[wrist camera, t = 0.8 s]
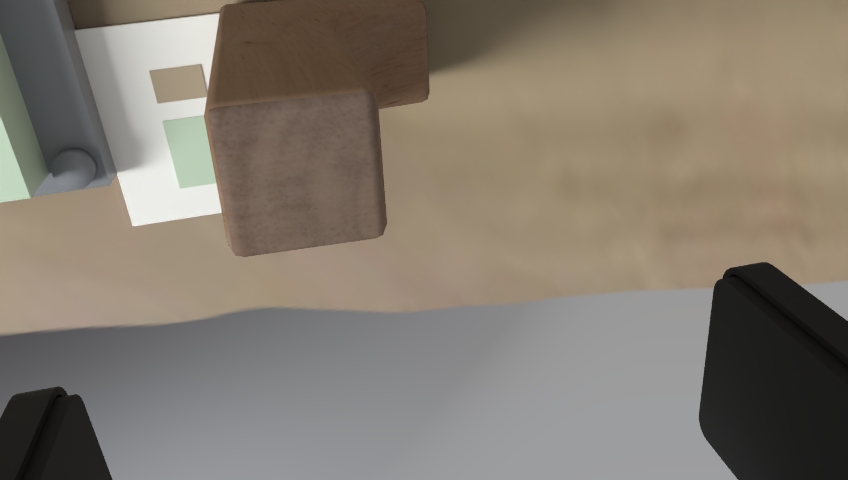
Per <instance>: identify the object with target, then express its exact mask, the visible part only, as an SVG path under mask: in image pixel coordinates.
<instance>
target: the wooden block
mask: <svg viewBox="0 0 848 480" xmlns="http://www.w3.org/2000/svg"><path fill="white" fill-rule="evenodd" d="M428 95H429V69H428V44H427V20H426V8H425V6H424V4H423V3H422V2H420V1H418V0H278V1H266V2H253V3H241V4H228V5H225V6H223V7H221V9H220V13H219V20H218V28H217V34H216V40H215V47H214V53H213V59H212V66H211V73H210V79H209V86H208V93H207V99H206V106H205V113H204V120H205V125H206V130H207V136H208V141H209V146H210V152H211V157H212V162H213V168H214V173H215V178H216V184H217V189H218V194H219V200H220V205H221V210H222V216H223V221H224V227H225V232H226V237H227V243H228V246H229V247H230V249H231V250H232V252H233V253H234V254H235V255H236V256H242V257H247V256H254V255H261V254H268V253H275V252H282V251H289V250H296V249H303V248H310V247H318V246H325V245H332V244H339V243H346V242H353V241H360V240H367V239H374V238H377V237H379V236H381V235H383V233H384V230H385V227H386V225H387V217H386V204H385V191H384V178H383V164H382V151H381V138H380V125H379V111H378V109H382V108H388V107H395V106H401V105H407V104H413V103H419V102H423V101H425V100H427V99H428Z"/></svg>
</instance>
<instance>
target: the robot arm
mask: <svg viewBox="0 0 848 480" xmlns="http://www.w3.org/2000/svg"><path fill="white" fill-rule="evenodd" d="M699 422H700V427H701V430H702V432H703V434H704V437H705V438H706V440H707V441H708V442H709V444H710V445H711V446H712V447H713V449H714V450H715V451H716V452H717V454H718V455H719V456H720V457H721V459H722V460H723V461H724V462H725V464H726V465H727V466H728V468H729V469H730V470H731V471H732V473H733V474H734V475H735V476H736V477H737V479H738V480H848V321H846V320H845V319H844V318H843V317H841V316H840V315H838V314H837V313H836V312H835V311H833V310H832V309H831V308H829V307H828V306H827V305H825V304H824V303H823V302H821V301H820V300H818V299H817V298H816V297H815V296H813V295H812V294H810V293H809V292H808V291H806V290H805V289H804V288H803V287H801V286H800V285H798V284H797V283H796V282H794V281H793V280H792V279H790V278H789V277H788V276H786V275H785V274H784V273H782V272H781V271H780V270H778V269H777V268H776V267H774V266H773V265H771V264H769V263H767V262H761V263H756V264H750V265H744V266H739V267H733V268H730V269H728V270H726V272H725V273H724V275H723V279H720V280H718V281H717V282H716V284H715V286H714V292H713V300H712V309H711V317H710V326H709V334H708V343H707V351H706V360H705V368H704V377H703V386H702V394H701V402H700V411H699ZM0 480H112V477H111V475H110V472H109V469H108V467H107V464H106V462H105V459H104V456H103V454H102V451H101V448H100V445H99V443H98V440H97V437H96V435H95V432H94V429H93V427H92V424H91V421H90V419H89V416H88V413H87V411H86V408H85V405H84V403H83V401H82V398H81V397H80V396H79V395H77V394H75V395H70V396H68V395H67V393H66V391H65V390H64V389H63V388H61V387H54V388H48V389H42V390H37V391H31V392H25V393H19V394H16V395H14V396H12V398H11V399H10V401H9V402H8V404H7V406H6V408H5V410H4V412H3V414H2V416H1V418H0Z"/></svg>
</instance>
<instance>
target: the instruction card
mask: <svg viewBox="0 0 848 480" xmlns="http://www.w3.org/2000/svg"><path fill="white" fill-rule="evenodd" d="M218 20H219V13H213V14H204V15H196V16H188V17H179V18H171V19H162V20H154V21H146V22H137V23H129V24H120V25H112V26H104V27H95V28H87V29H78V30H75V31H74V33H75V36H76V39H77V42H78V46H79V49H80V52H81V56H82V59H83V62H84V66H85V69H86V72H87V76H88V79H89V82H90V86H91V89H92V92H93V96H94V99H95V102H96V106H97V109H98V112H99V115H100V119H101V122H102V125H103V129H104V132H105V135H106V139H107V142H108V145H109V149H110V152H111V155H112V159H113V162H114V165H115V169H116V172H117V175H118V178H119V182H120V185H121V188H122V192H123V195H124V198H125V202H126V205H127V208H128V212H129V215H130V218H131V222H132V225H133V226H138V225H145V224H151V223H158V222H164V221H171V220H177V219H184V218H190V217H197V216H203V215H210V214H216V213H222V210H221V205H220V200H219V194H218V189H217V184H216V178H215V173H214V168H213V162H212V157H211V152H210V146H209V141H208V136H207V130H206V125H205V120H204V113H205V106H206V99H207V93H208V86H209V79H210V73H211V66H212V59H213V53H214V47H215V40H216V34H217V28H218Z"/></svg>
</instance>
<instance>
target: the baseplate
mask: <svg viewBox="0 0 848 480" xmlns="http://www.w3.org/2000/svg"><path fill="white" fill-rule="evenodd" d="M74 31H75V26H74V23H73V20H72V16H71V13H70V10H69V6H68V3H67V0H0V202H7V201H14V200H20V199H27V198H31V197H33V196H40V195H47V194H54V193H61V192H67V191H74V190H81V189H88V188H95V187H101V186H108V185H111V183H112V181H113V179H114V177H115V175H116V173H117V172H116V169H115V165H114V162H113V159H112V155H111V152H110V149H109V145H108V142H107V139H106V135H105V132H104V129H103V125H102V122H101V119H100V115H99V112H98V109H97V106H96V102H95V99H94V96H93V92H92V89H91V86H90V82H89V79H88V76H87V72H86V69H85V66H84V62H83V59H82V56H81V52H80V49H79V46H78V42H77V39H76V36H75V33H74Z"/></svg>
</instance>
